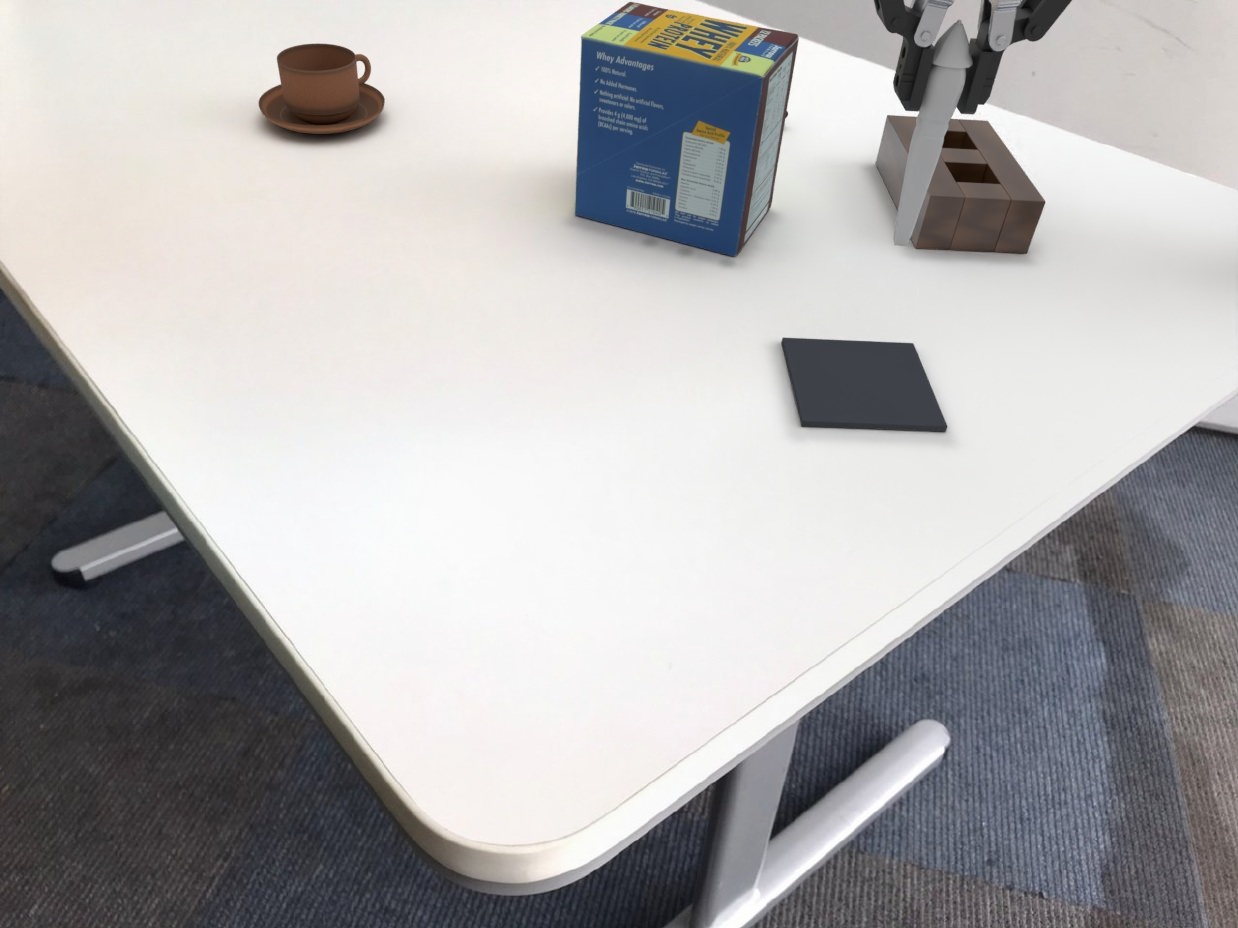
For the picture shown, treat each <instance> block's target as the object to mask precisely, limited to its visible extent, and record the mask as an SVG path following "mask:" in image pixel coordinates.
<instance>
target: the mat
mask: <svg viewBox="0 0 1238 928" xmlns="http://www.w3.org/2000/svg"><path fill="white" fill-rule="evenodd" d="M781 346H782V351H783V354H784V358H785V363H786V367H787V371H788V376H789V379H790V383H791V387H792V392H793V396H794V400H795V405H796V408H797V412H798V418H799V421H800V425H801V427H812V428H813V427H814V428H837V429H839V428H840V429H860V430H861V429H864V430H888V431H915V432H916V431H917V432H941V433H943V432H944V433H945V432H947V429H948V424H947V421H946V419H945V417H944V414H943V412H942V409H941V407H940V404H939V402H938V400H937V397H936V395H935V393H934V390H933V388H932V385H931V382H930V380H929V378H928V376H927V373H926V371H925V368H924V366H923V363H922V361H921V359H920V356H919V354H918V351H917V349H916V347H915V344H914V342H896V341H895V342H894V341H876V340H875V341H874V340H852V339H850V340H849V339H825V338H806V337H805V338H803V337H782V338H781Z"/></svg>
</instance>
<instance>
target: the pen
mask: <svg viewBox="0 0 1238 928" xmlns="http://www.w3.org/2000/svg"><path fill="white" fill-rule="evenodd" d="M969 42H970V40H969V38H968V35H967V31H966V29H965V26H964V24H963V23H962V19H957V20H956V22H954V23H953V24H952V25H950V27H949V28H947V30H945V31H944V33H943V34H942V35H940V37H939V38H938V39H937V41H936V42H935V44H934V45H933V46H934V48H935V49H936V50H935V54H934V58H933V61H932V65H931V69H930V73H929V77H928V81H927V85H926V88H925V92H924V96H923V100H922V104H921V107H920V110H919V111H918V114H917V116H916V117H917V119H916V127H915V129H914V133H913V136H912V140H911V144H910V148H909V154H908V159H907V164H906V170H905V175H904V181H903V186H902V192H901V197H900V202H899V207H898V210H897V213H896V217H895V218H896V219H895V223H894V229H893V238H892V240H893V241H892V242H893V245H894V246H901V247H902V246H903V247H907V246H908V245H909V242H910V240H911V235H912V233H913V230H914V227H915V224H916V221H917V218H918V215H919V212H920V209H921V206H922V204H923V201H924V198H925V195H926V193H927V190H928V187H929V184H930V181H931V179H932V176H933V173H934V170H935V168H936V165H937V162H938V159H939V156H940V153H941V149H942V145H943V142H944V136H945V134H946V132H947V130H948V126H949V124H948V122H949V121H950V119H952V118H953V116H954V113H955V111H956V109H957V107H956V106H957V104H958V101H959V99H960V96H961V93H962V91H963V87H964V84H965V78H966V68H969V67H971V66H972V65H973V60H972V58H971V55H970V52H969Z"/></svg>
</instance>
